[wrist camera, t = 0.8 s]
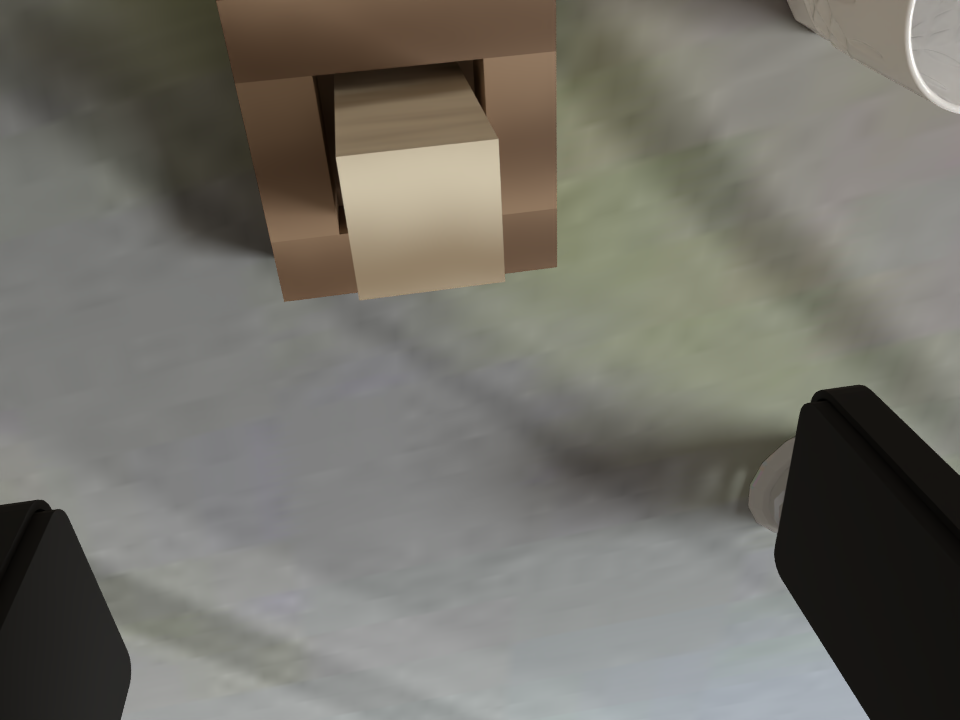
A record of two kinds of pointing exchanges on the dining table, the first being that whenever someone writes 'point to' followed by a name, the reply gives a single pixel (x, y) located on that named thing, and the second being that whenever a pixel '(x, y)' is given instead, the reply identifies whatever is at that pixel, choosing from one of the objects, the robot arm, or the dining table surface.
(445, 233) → the birch peg
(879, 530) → the robot arm
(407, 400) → the dining table surface
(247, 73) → the walnut holder
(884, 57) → the white cup
